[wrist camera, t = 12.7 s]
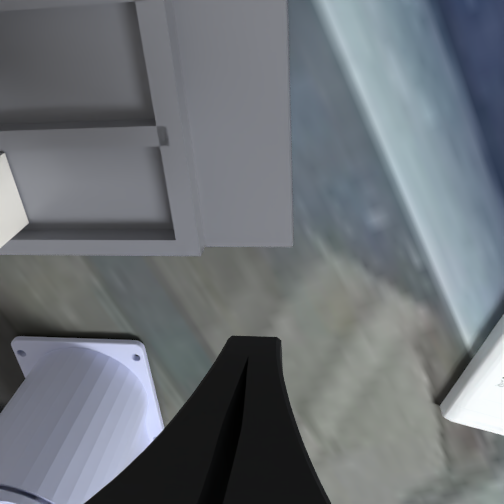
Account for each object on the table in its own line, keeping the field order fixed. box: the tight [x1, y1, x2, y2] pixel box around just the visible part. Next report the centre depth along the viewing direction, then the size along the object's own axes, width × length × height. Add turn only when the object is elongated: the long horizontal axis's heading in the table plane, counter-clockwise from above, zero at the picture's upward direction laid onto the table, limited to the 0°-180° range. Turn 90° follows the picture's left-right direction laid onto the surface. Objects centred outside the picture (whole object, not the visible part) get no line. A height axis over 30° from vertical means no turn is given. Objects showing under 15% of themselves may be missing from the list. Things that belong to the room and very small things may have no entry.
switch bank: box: [0, 0, 294, 256], centre depth 18 cm, size 16×21×2 cm
